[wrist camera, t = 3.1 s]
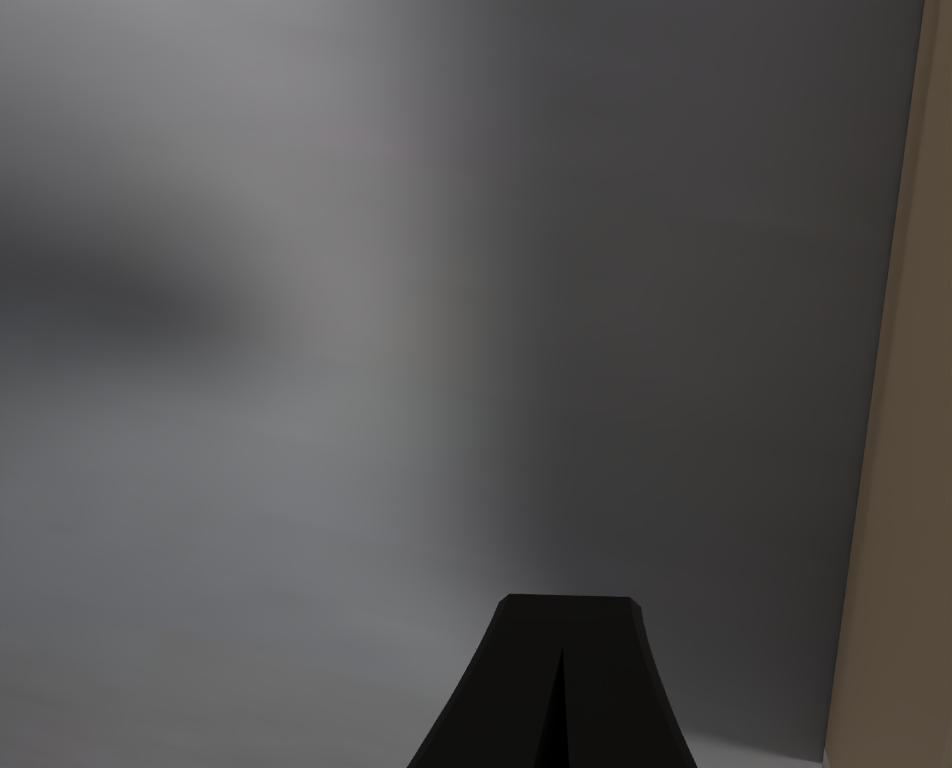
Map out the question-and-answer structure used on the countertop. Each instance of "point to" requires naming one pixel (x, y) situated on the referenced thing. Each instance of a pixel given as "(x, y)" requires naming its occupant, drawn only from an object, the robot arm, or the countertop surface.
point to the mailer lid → (948, 750)
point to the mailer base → (906, 466)
